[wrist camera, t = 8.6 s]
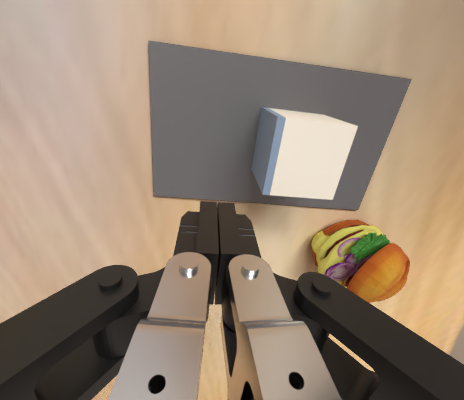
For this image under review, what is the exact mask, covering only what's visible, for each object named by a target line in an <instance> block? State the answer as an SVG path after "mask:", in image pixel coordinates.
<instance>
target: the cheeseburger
mask: <svg viewBox="0 0 464 400" xmlns="http://www.w3.org/2000/svg"><path fill="white" fill-rule="evenodd" d="M311 246H312V251H313V259H314V261H315V264H316V265H317V266H318V269H317V272H318V273H321V274H323V275H326V276H328V277H330V278H331V279H333V280H335V281H336V282H338V283H339V284H341V285H342V286H347V289H348V290H350V291H351V292H353V293H354V294H356V295H358V296H359V297H361V298H362V299H364V300H365V301H367V302H368V303H370V302H375V301H381V300H385V299H388V298H390V297H392V296H394V295H395V294H396V293H398V292H399V291H400V290H401V289H402V288H403V286H404V285H405V283H406V280H407V275H408V272H409V267H410V261H409V258H408V257H407V255H406V254H405V253H404V252H403V250H402V249H401V248H400V247H399V246H397V245H396V244H393V243H389V240H387V238H386V235H383V233H382V232H381V231H380V230H379V229H378V228H377V227H376V226H373V225H371V226H369V225H368V224H366V223H364V222H362V221H359V220H346V221H343V222H339V223H336V224H334V225H332V226H330V227H329V228H327V229H325V230H324V231H320V232H318V233H317V234H316V235H315V236H314V238H313V240H312V244H311Z"/></svg>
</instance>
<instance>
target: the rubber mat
mask: <svg viewBox="0 0 464 400" xmlns="http://www.w3.org/2000/svg"><path fill="white" fill-rule="evenodd" d="M149 70H150V101H151V131H152V162H153V193H154V196H164V197H178V198H192V199H206V200H221V201H235V202H249V203H263V204H277V205H292V206H306V207H320V208H334V209H348V210H358V209H359V207H360V204H361V202H362V199H363V197H364V194H365V192H366V189H367V187H368V185H369V182H370V180H371V177H372V175H373V172H374V170H375V167H376V165H377V162H378V160H379V158H380V155H381V153H382V150H383V148H384V145H385V143H386V140H387V138H388V136H389V133H390V131H391V128H392V126H393V123H394V121H395V118H396V116H397V113H398V111H399V109H400V106H401V104H402V101H403V99H404V96H405V94H406V91H407V89H408V87H409V84H410V82H411V79H406V78H400V77H393V76H386V75H379V74H372V73H365V72H359V71H352V70H345V69H338V68H331V67H325V66H318V65H311V64H304V63H297V62H291V61H284V60H277V59H270V58H263V57H256V56H250V55H243V54H236V53H229V52H222V51H216V50H209V49H202V48H195V47H188V46H181V45H175V44H168V43H161V42H154V41H149ZM261 107H265V108H273V109H282V110H290V111H298V112H306V113H315V114H323V115H326V116H329V117H332V118H335V119H338V120H341V121H344V122H347V123H350V124H353V125H356V126H358V128H357V131H356V134H355V137H354V140H353V142H352V145H351V148H350V151H349V154H348V157H347V160H346V163H345V166H344V169H343V171H342V174H341V177H340V180H339V183H338V186H337V189H336V192H335V195H334V197H333V200H327V199H314V198H300V197H287V196H274V195H262V192H261V190H260V188H259V185H258V183H257V181H256V179H255V176H254V174H253V172H252V169H251V168H252V162H253V156H254V150H255V144H256V138H257V132H258V126H259V120H260V113H261Z"/></svg>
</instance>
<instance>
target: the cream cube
mask: <svg viewBox="0 0 464 400" xmlns="http://www.w3.org/2000/svg"><path fill="white" fill-rule="evenodd" d="M357 128H358V126H356V125H353V124H350V123H347V122H344V121H341V120H338V119H335V118H332V117H329V116H326V115H323V114H315V113H306V112H298V111H290V110H282V109H273V108H265V107H261V113H260V120H259V126H258V132H257V138H256V144H255V150H254V156H253V162H252V168H251V169H252V172H253V174H254V176H255V179H256V181H257V183H258V185H259V188H260V190H261V192H262V195H274V196H287V197H300V198H314V199H327V200H333V197H334V195H335V192H336V189H337V186H338V183H339V180H340V177H341V174H342V171H343V169H344V166H345V163H346V160H347V157H348V154H349V151H350V148H351V145H352V142H353V140H354V137H355V134H356V131H357Z"/></svg>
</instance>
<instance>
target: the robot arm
mask: <svg viewBox="0 0 464 400" xmlns="http://www.w3.org/2000/svg"><path fill="white" fill-rule="evenodd" d="M214 292H215V304H222V317H221V334H222V342H223V351H224V359H225V368H226V376H227V389H228V395H227V400H464V365H463V364H462V363H460V362H459V361H457V360H456V359H454V358H452V357H451V356H449V355H448V354H446V353H445V352H443V351H442V350H440V349H439V348H437V347H436V346H434V345H433V344H431V343H430V342H428V341H426V340H425V339H423V338H422V337H420V336H419V335H417V334H416V333H414V332H413V331H411V330H410V329H408V328H407V327H405V326H403V325H402V324H400V323H399V322H397V321H396V320H394V319H393V318H391V317H390V316H388V315H387V314H385V313H384V312H382V311H380V310H379V309H377V308H376V307H374V306H373V305H371V304H370V303H368V302H367V301H365V300H364V299H362V298H361V297H359V296H358V295H356V294H354V293H353V292H351V291H350V290H348V289H347V288H345V287H344V286H342V285H341V284H339V283H338V282H336V281H335V280H333V279H331V278H330V277H328V276H326V275H323V274H321V273H316V272H308V273H304V274H302V275H301V276H300V277H299V279H298V281H295V280H292V279H288V278H285V277H282V276H279V275H277V274H275V273H273V272H272V270H271V268H270V266H269V264H268V263H267V262H266V261H265V260H263V259H262V258H261V255H260V251H259V248H258V244H257V241H256V237H255V233H254V230H253V226H252V222H251V221H250V220H249V219H248V217H247V216H246V215H240V214H236V211H235V206H234V203H220V202H218V204H217V202H205V201H201V202H200V212H190V211H188V212H187V213H186V214H185V215H183V216H182V218H181V222H180V227H179V232H178V236H177V241H176V246H175V250H174V255H173V257H172V258H171V259H169V261H168V262H167V264H166V267H164V268H163V269H161V270H159V271H156V272H153V273H149V274H144V275H140V276H137V273H136V272H135V271H134V270H133V269H132V268H130V267H128V266H124V265H112V266H107V267H104V268H101V269H99V270H97V271H95V272H93V273H91V274H89V275H88V276H86V277H84V278H82V279H80V280H79V281H77V282H75V283H73V284H71V285H69V286H68V287H66V288H64V289H62V290H60V291H59V292H57V293H55V294H53V295H51V296H50V297H48V298H46V299H44V300H42V301H41V302H39V303H37V304H35V305H33V306H31V307H30V308H28V309H26V310H24V311H22V312H21V313H19V314H17V315H15V316H13V317H12V318H10V319H8V320H6V321H4V322H3V323H1V324H0V400H91V399H92V398H93V397H94V396H96V395H97V394H98V393H99V392H100V391H101V390H102V389H103V388H104V387H105V386H106V385H107V384H108V383H109V382H110V381H111V380H112V379H113V378H114V377H115V376H116V375H117V374H118V376H117V378H116V381H115V383H114V386H113V389H112V391H111V394H110V396H109V399H108V400H198V390H199V380H200V371H201V362H202V352H203V343H204V333H205V324H206V322H207V319H208V313H209V304H213V301H214ZM329 334H331V335H333V336H334V337H335V338H336V339H338V340H339V341H340V342H341V343H343V344H344V345H345V346H346V347H348V348H349V349H350V350H351V351H352V352H354V353H355V354H356V355H357V356H359V357H360V358H361V359H362V360H364V361H365V362H366V363H367V364H368V365H370V366H371V367H372V368H373V369H374V371H375V372H373V371H370V370H368V369H367V368H365V367H364V366H363V365H361V364H360V363H359V362H358V361H357V360H355V359H354V358H353V357H352V356H350V355H349V354H348V353H347V352H346V351H344V350H343V349H342V348H341V347H340V346H338V345H337V344H336V343H335V342H334V341H332V340H331V339H330V338H329V337H328V336H329Z"/></svg>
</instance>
